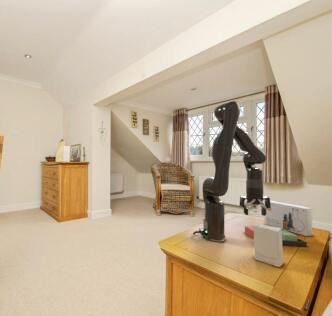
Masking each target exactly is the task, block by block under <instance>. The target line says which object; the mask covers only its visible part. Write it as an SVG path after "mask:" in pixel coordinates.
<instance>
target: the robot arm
mask: <svg viewBox="0 0 332 316" xmlns="http://www.w3.org/2000/svg"><path fill="white" fill-rule="evenodd" d="M213 114H214V118H216V120H217V121H218V122H219V123H220V125H222V127H221V129H220V130H219V132H218V133H217V135H216V137H214V140H213V142H212V148H211V158H212V161H213V164H214V176H213V177H207V178H205V179H204V180H203V182H202V200H203V203H204V218H203V221H202V223H203V228H202V227H201V228H198V230H197V231H194V232H193V233H192V235H194V236H195V235H196V234H199V235H201V236H203V237H204V238H205V239H206V240H207V241H212V242H217V243H222V242H225V240H226V234H225V233H226V232H225V228H226V227H225V226H226V225H225V222H226V221H225V207H226V206H225V203H224V201H222V199H221V198H220V197H223V196H225V195H226V194H227V193H228V191H229V184H230V183H229V178H230V167H231V158H232V153H233V147H234V141H235V144H237V146H238V148H239V149H240V150H241V152H245V153H244V154H243V156H242V162H243V165H244V168H245V171H246V181H245V193H246V196H242V195H240V196H239V207H240V208H243V214H244V215H245V216H249V208H250V206H253V205H254V206H255V205H257V206H259V207H261V209H260V210H261V211H260V212H261V213H260V214H261V216H262V217H265V215H266V209H267V208H271V206H270V201H271V198H270V197H268V196H264V178H263V177H264V176H263V174H264V173H263V169H262V168H259V167H257V166H256V165H263V164H265V163H266V161H267V159H268V158H267V154H266V153H265V151H264V150H262V148H261V147H259V146H258V145H257V144H256V143H255V141H254V140H253V138H252V137H251V135H250V134H249V133H248V131H246V130H245V129H244V128H242V127H241V126H239V125H238V121H239V118H240V114H241V105H240V104H239V102H237V101H235V100H232V101H228V102H224V103H221V104H219V105H217V106H216V107H215V108H214V110H213ZM263 201H264V202H263Z"/></svg>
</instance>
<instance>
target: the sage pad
mask: <svg viewBox="0 0 332 316" xmlns="http://www.w3.org/2000/svg"><path fill="white" fill-rule="evenodd" d="M281 230H282V240H286V241H297V238H298V235H297V234H296V233H293V232H290V231H287V230H283V229H281Z"/></svg>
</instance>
